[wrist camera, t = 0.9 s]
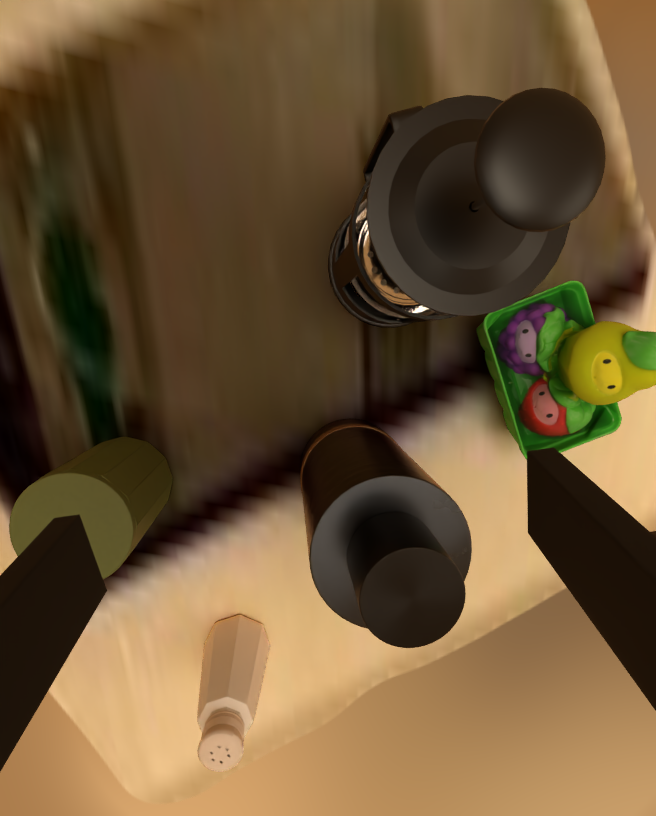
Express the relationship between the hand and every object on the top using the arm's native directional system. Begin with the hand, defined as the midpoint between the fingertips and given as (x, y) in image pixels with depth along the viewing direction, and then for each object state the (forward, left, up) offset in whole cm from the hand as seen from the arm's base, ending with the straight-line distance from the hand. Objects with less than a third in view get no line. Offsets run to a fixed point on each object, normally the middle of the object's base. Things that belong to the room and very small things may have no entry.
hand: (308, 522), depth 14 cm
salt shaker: (+18, -10, -25) cm, 32 cm away
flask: (+6, +3, -24) cm, 25 cm away
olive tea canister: (+2, -14, -24) cm, 28 cm away
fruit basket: (+2, +19, -25) cm, 31 cm away
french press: (-9, +10, -25) cm, 28 cm away
